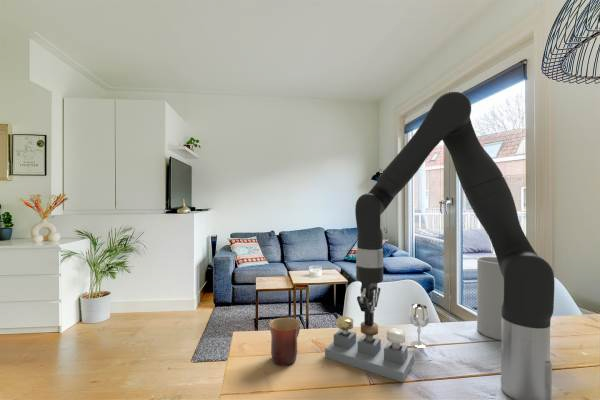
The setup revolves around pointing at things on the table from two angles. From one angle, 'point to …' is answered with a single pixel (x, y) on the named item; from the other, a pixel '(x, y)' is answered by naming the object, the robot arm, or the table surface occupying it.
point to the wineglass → (419, 321)
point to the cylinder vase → (489, 297)
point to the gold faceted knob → (345, 324)
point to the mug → (284, 340)
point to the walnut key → (369, 331)
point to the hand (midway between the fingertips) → (369, 324)
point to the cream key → (396, 337)
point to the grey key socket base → (371, 355)
